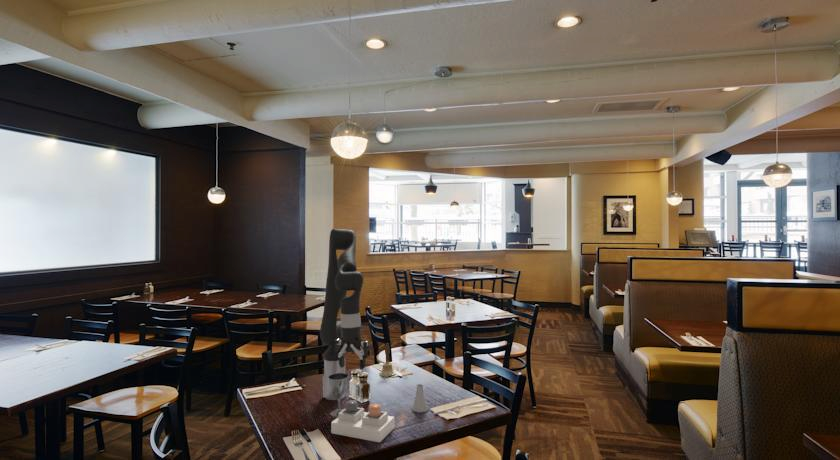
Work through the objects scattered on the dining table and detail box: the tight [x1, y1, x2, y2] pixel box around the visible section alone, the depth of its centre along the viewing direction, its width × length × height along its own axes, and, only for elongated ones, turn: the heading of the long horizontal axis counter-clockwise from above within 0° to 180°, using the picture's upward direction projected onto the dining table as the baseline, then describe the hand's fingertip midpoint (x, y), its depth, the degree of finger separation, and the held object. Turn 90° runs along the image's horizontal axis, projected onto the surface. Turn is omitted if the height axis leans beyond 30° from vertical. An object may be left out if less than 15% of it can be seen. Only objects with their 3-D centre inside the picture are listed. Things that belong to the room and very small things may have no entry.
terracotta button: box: [368, 403, 382, 417], centre depth 157 cm, size 4×4×3 cm
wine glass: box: [329, 372, 349, 418], centre depth 175 cm, size 8×8×15 cm
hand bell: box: [379, 342, 395, 378], centre depth 220 cm, size 8×8×16 cm
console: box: [330, 406, 396, 443], centre depth 159 cm, size 20×12×6 cm, turn 68°
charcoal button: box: [344, 399, 358, 413], centre depth 161 cm, size 4×4×3 cm
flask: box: [411, 383, 429, 414], centre depth 176 cm, size 7×7×10 cm
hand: (352, 367), depth 161 cm, fingers open, 8 cm apart
